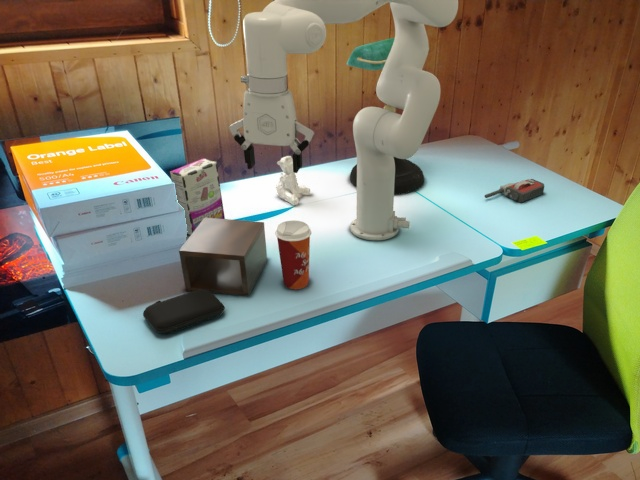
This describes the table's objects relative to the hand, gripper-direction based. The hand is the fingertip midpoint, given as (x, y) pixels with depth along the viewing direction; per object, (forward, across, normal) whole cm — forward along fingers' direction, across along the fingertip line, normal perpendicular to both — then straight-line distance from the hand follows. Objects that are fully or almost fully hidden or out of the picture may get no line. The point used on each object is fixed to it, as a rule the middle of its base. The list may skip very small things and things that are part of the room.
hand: (274, 168), depth 131 cm
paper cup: (+26, +4, -4) cm, 26 cm away
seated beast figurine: (+25, -8, +41) cm, 49 cm away
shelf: (+25, -12, -3) cm, 28 cm away
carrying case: (+26, -15, -20) cm, 36 cm away
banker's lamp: (+25, +18, +60) cm, 67 cm away
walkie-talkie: (+25, +57, +55) cm, 83 cm away
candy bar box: (+26, -25, +19) cm, 41 cm away
